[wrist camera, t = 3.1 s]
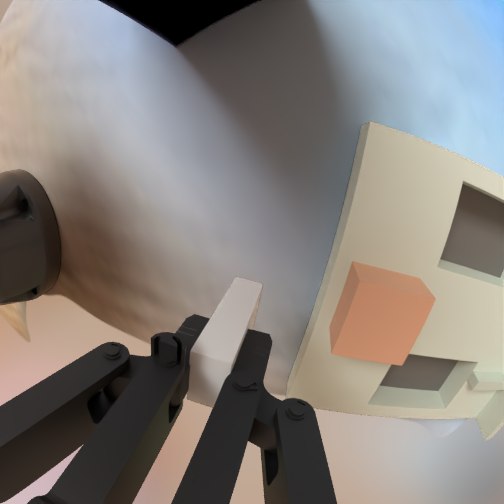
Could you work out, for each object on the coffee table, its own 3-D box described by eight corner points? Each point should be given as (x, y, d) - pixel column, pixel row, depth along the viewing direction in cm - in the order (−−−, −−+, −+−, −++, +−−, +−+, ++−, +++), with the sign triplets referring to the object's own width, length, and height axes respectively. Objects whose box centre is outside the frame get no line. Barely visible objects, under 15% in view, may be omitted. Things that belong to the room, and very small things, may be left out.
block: (329, 327, 19) (331, 353, 16) (352, 261, 17) (359, 281, 15) (392, 339, 19) (401, 365, 16) (419, 278, 17) (435, 299, 14)
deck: (288, 379, 25) (280, 433, 19) (360, 126, 17) (385, 113, 11) (473, 399, 23) (490, 439, 16) (560, 219, 15) (601, 239, 9)
